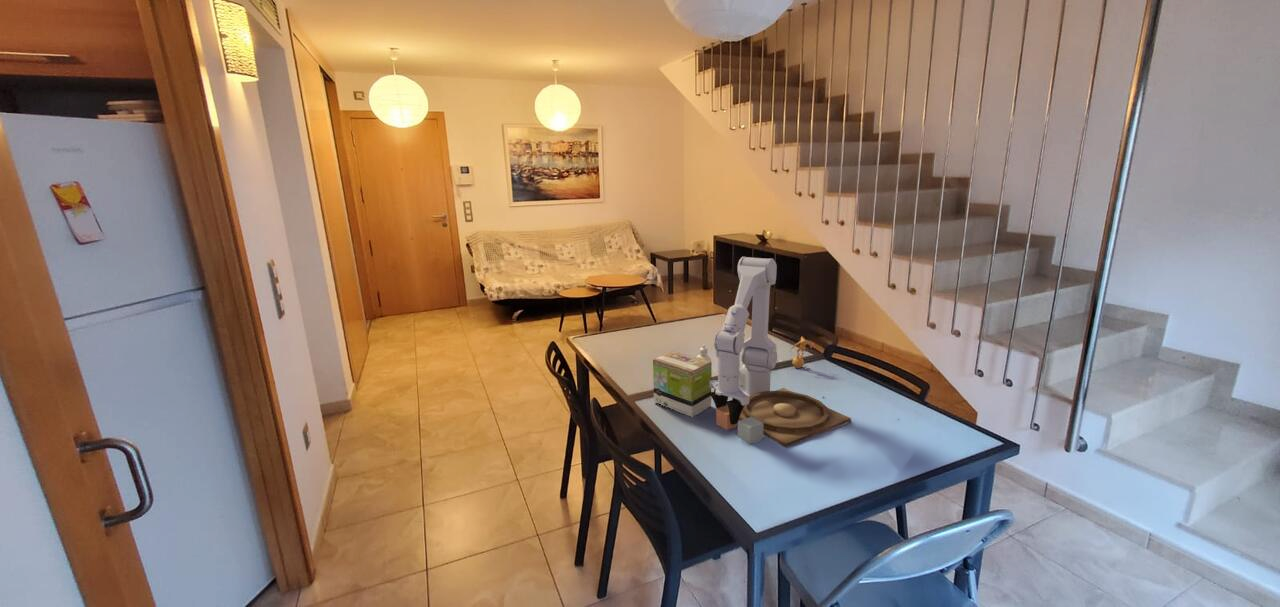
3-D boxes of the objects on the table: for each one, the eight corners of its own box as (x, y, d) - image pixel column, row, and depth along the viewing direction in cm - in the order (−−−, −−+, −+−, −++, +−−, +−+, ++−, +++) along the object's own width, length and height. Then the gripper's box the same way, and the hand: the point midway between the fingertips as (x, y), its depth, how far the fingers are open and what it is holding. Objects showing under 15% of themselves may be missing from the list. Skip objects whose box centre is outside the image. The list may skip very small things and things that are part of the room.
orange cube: (716, 423, 143) (716, 408, 142) (728, 419, 145) (729, 404, 144) (726, 430, 139) (727, 414, 138) (739, 425, 142) (740, 410, 140)
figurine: (805, 364, 184) (807, 332, 181) (814, 370, 179) (816, 337, 176) (784, 366, 182) (785, 334, 179) (793, 373, 177) (794, 339, 174)
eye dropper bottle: (708, 374, 177) (708, 341, 174) (711, 381, 172) (711, 347, 169) (695, 375, 177) (695, 342, 174) (698, 382, 172) (698, 348, 169)
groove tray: (721, 410, 151) (721, 402, 150) (783, 390, 163) (783, 383, 162) (785, 447, 130) (785, 438, 129) (850, 421, 142) (851, 413, 141)
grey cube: (737, 436, 136) (738, 421, 134) (750, 432, 138) (751, 416, 137) (749, 444, 132) (750, 428, 131) (762, 439, 134) (763, 423, 133)
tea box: (652, 404, 156) (651, 358, 153) (673, 393, 163) (672, 349, 160) (692, 418, 146) (691, 370, 143) (712, 406, 153) (712, 360, 150)
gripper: (700, 368, 143) (700, 413, 146) (735, 385, 131) (734, 434, 134) (720, 363, 146) (719, 407, 150) (755, 379, 134) (754, 427, 137)
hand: (728, 419), depth 142 cm, fingers open, 5 cm apart
